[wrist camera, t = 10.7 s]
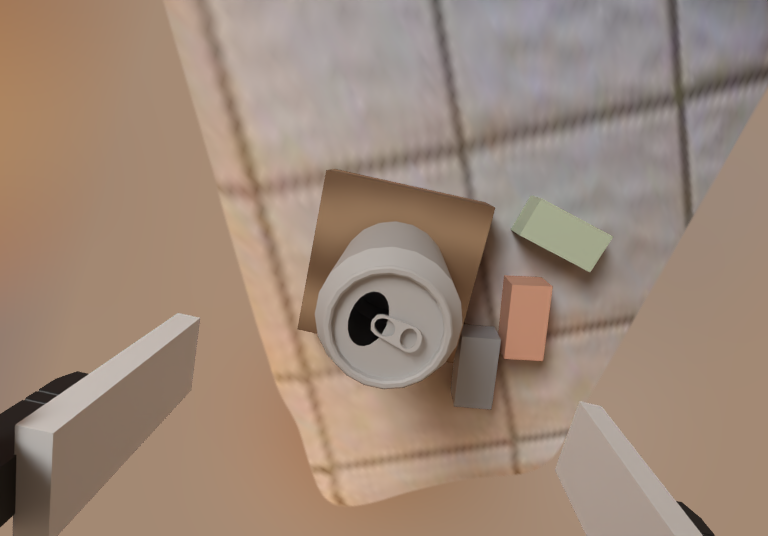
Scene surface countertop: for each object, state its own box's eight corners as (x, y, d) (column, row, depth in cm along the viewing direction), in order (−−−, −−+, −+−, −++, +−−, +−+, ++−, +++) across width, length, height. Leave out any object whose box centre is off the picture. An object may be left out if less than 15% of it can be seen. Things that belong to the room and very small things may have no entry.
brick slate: (457, 323, 38) (462, 336, 35) (493, 326, 38) (501, 339, 35) (450, 388, 40) (454, 406, 37) (485, 391, 40) (491, 409, 37)
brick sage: (510, 229, 36) (519, 235, 33) (530, 195, 36) (541, 198, 33) (575, 263, 37) (590, 272, 34) (596, 230, 36) (613, 236, 33)
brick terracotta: (503, 274, 37) (512, 284, 34) (540, 276, 37) (552, 286, 34) (496, 343, 39) (504, 358, 36) (532, 345, 39) (543, 360, 36)
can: (363, 203, 32) (339, 228, 21) (461, 242, 33) (493, 289, 21) (327, 298, 34) (287, 371, 22) (421, 334, 34) (430, 425, 23)
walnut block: (334, 168, 36) (326, 170, 32) (485, 202, 36) (495, 207, 32) (308, 311, 38) (297, 329, 35) (447, 342, 39) (452, 363, 35)
